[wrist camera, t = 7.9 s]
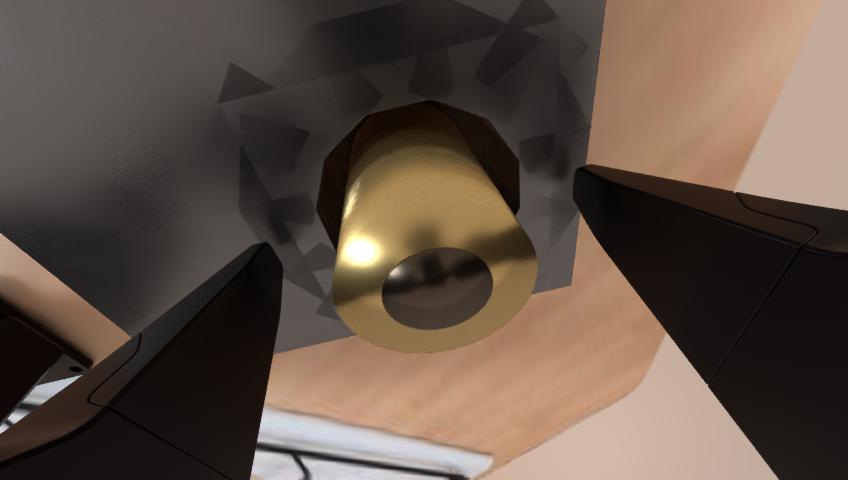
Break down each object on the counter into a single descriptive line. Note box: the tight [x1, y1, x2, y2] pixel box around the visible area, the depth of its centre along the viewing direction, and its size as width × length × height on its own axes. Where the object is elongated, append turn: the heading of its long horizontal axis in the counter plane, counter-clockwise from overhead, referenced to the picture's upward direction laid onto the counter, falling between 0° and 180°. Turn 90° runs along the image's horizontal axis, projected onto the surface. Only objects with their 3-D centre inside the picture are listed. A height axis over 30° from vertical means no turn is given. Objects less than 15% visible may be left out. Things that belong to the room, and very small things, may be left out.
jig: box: [0, 0, 606, 354], centre depth 9 cm, size 16×16×4 cm
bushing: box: [332, 103, 538, 353], centre depth 10 cm, size 4×4×7 cm
